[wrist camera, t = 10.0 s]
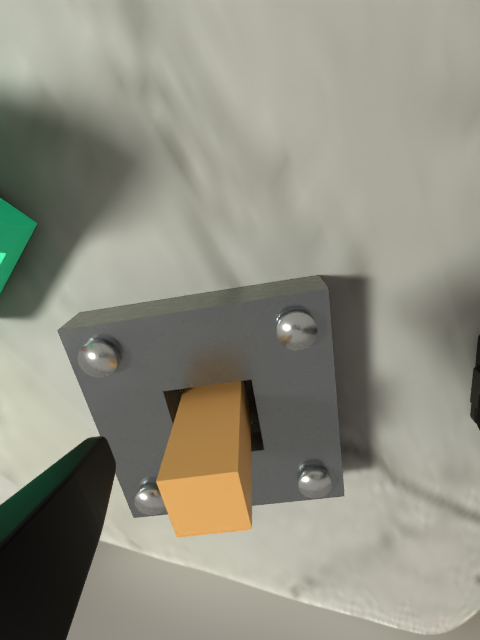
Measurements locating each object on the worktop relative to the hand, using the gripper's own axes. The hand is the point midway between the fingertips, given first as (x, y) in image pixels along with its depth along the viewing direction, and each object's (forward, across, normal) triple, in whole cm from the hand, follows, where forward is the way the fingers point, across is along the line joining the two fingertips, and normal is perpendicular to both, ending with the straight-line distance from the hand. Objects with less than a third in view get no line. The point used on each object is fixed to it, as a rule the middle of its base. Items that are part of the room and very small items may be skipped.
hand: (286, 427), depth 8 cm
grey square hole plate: (+12, +4, +7) cm, 14 cm away
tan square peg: (+12, +4, +7) cm, 14 cm away
